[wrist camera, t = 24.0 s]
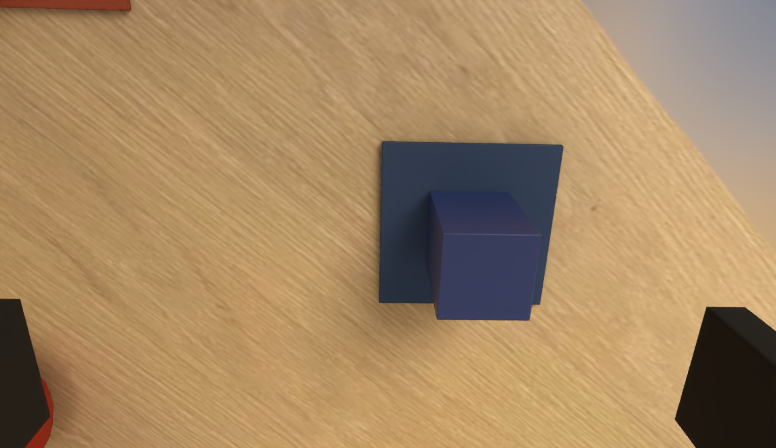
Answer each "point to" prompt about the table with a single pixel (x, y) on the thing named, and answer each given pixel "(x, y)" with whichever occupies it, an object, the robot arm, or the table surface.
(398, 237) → the blue mat
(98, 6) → the red mat
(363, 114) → the table surface
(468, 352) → the table surface
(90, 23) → the table surface
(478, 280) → the blue block
